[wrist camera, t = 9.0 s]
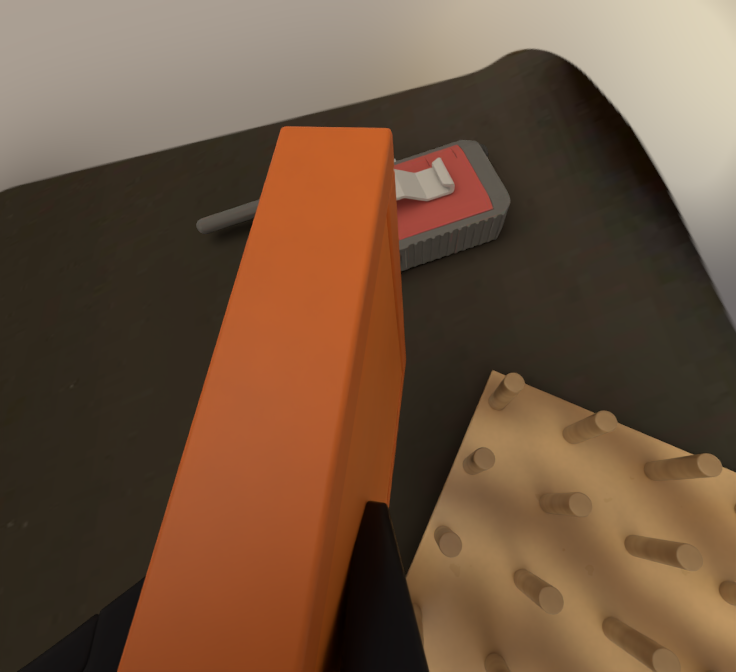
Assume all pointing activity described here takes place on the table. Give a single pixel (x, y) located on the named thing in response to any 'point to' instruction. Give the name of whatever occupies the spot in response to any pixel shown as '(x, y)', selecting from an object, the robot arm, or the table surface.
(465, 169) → the walkie-talkie
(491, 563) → the rack
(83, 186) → the table surface
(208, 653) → the lid
